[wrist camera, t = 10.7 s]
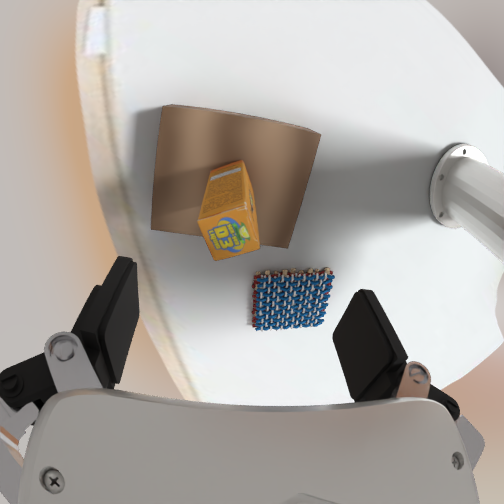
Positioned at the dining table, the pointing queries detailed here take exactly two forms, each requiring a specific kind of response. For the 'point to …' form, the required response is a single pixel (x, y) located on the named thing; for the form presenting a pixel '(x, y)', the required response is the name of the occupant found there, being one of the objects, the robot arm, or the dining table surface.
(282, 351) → the dining table surface
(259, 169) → the walnut stand
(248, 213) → the supplement box
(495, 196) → the robot arm
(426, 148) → the dining table surface
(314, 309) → the woven mat
